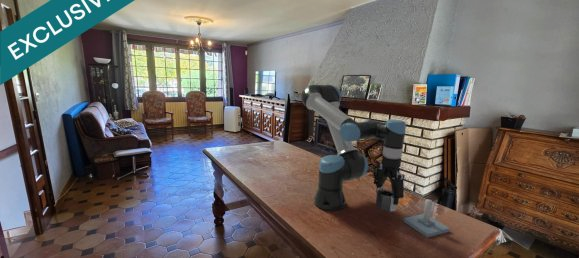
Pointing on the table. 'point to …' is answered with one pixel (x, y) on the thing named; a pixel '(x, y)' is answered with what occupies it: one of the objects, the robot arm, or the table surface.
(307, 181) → the table surface
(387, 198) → the hub
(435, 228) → the shaft block
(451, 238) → the table surface
